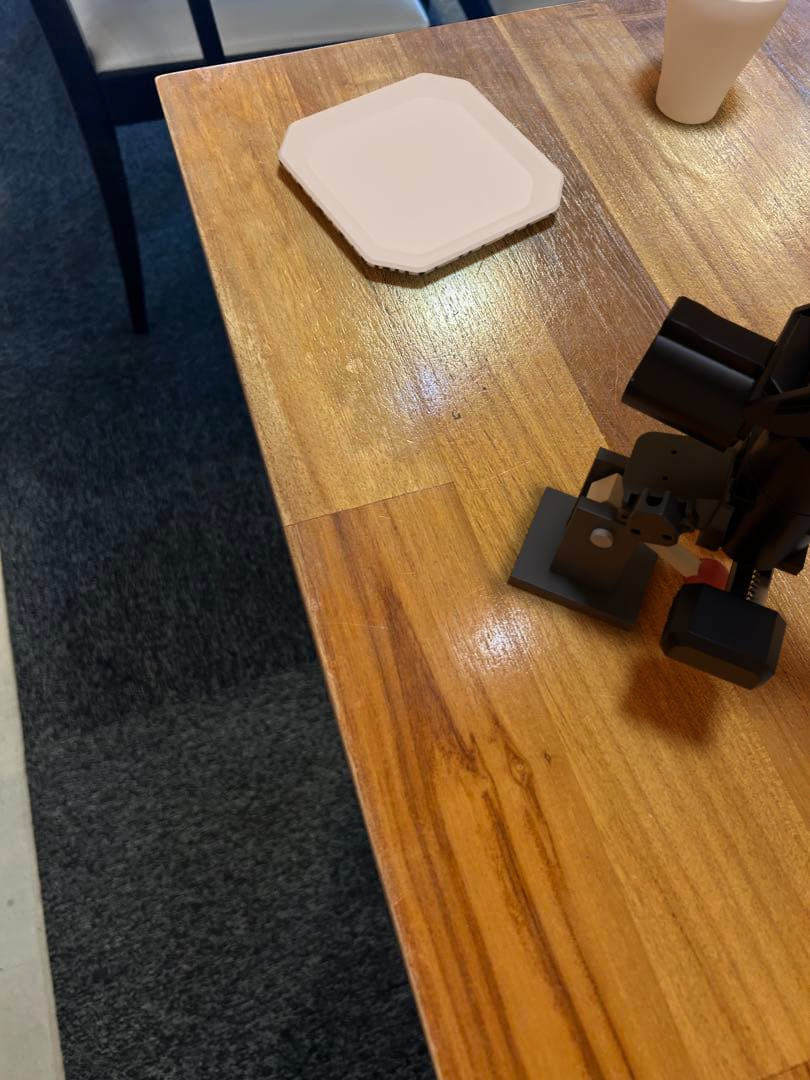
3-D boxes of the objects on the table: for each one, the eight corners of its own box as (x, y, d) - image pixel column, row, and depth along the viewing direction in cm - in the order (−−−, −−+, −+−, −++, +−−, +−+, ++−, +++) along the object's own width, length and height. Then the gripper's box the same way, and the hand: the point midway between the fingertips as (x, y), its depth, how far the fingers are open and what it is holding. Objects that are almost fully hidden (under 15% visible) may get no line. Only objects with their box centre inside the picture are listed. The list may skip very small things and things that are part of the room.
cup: (621, 122, 91) (664, -19, 79) (645, 58, 95) (690, -84, 84) (728, 153, 89) (788, 16, 78) (748, 87, 94) (807, -52, 82)
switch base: (660, 539, 69) (707, 465, 60) (630, 632, 65) (675, 568, 57) (543, 494, 70) (573, 415, 62) (507, 583, 66) (533, 513, 58)
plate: (581, 213, 84) (587, 193, 82) (388, 305, 78) (389, 286, 76) (446, 80, 92) (449, 59, 90) (259, 153, 85) (258, 132, 83)
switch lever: (709, 578, 66) (744, 570, 64) (698, 614, 65) (734, 607, 62) (590, 479, 62) (622, 466, 60) (576, 515, 61) (609, 503, 58)
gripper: (699, 302, 57) (628, 448, 71) (610, 554, 48) (549, 665, 62) (884, 366, 55) (774, 503, 69) (826, 638, 47) (714, 732, 60)
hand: (703, 593), depth 65 cm, fingers open, 9 cm apart
